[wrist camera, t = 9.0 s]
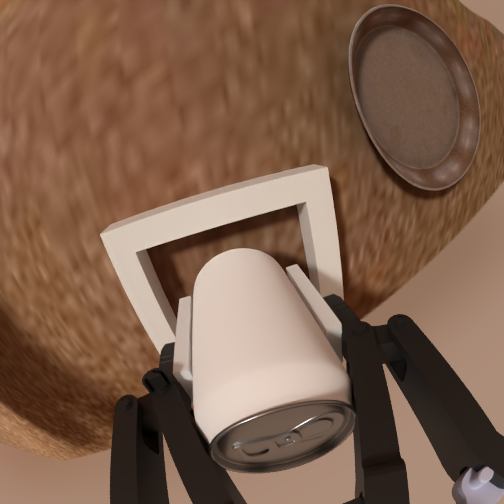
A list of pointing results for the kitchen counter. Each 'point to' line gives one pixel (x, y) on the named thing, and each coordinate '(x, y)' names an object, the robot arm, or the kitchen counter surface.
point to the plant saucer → (414, 96)
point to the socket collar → (216, 214)
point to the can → (263, 369)
